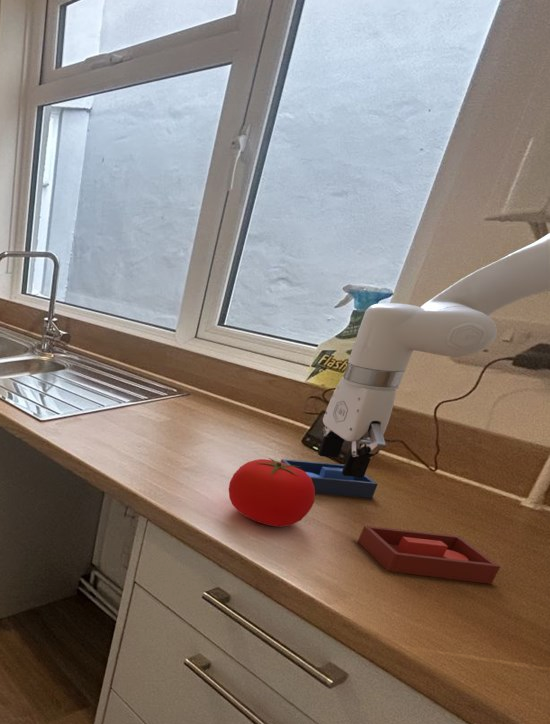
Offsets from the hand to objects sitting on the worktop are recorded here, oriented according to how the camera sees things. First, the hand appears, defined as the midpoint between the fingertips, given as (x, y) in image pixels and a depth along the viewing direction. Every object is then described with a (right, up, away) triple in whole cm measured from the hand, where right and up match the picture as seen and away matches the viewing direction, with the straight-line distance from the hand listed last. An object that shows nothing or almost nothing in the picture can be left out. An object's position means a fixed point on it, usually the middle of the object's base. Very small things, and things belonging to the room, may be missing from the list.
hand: (339, 465), depth 99 cm
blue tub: (-2, -4, +2) cm, 5 cm away
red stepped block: (-5, -13, -20) cm, 24 cm away
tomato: (-21, -9, -8) cm, 24 cm away
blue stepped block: (-1, -3, +2) cm, 4 cm away
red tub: (-6, -13, -20) cm, 24 cm away
